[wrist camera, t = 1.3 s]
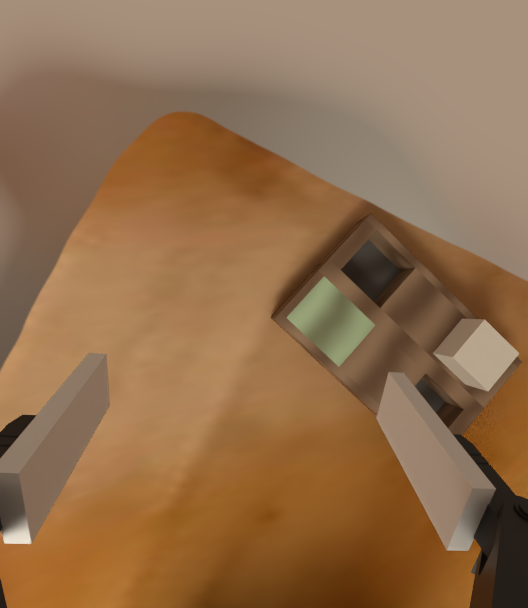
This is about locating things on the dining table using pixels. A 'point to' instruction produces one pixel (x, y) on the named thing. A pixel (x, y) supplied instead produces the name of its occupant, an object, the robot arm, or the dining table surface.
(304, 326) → the board
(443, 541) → the robot arm
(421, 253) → the dining table surface
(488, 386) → the block
